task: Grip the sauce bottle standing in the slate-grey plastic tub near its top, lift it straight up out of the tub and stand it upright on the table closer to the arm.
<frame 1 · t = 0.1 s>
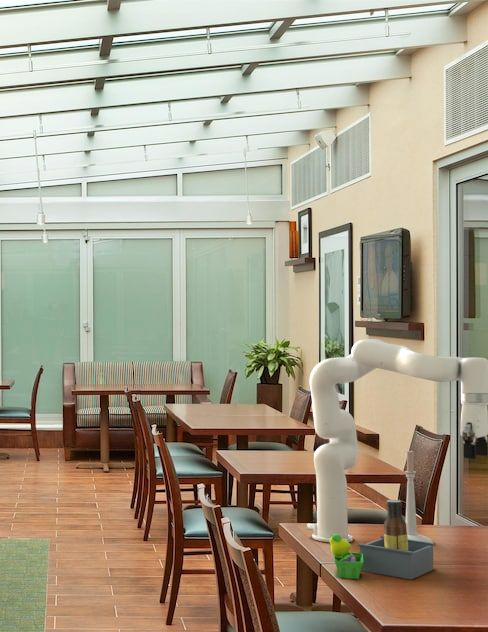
hand: (475, 456, 284), 31 cm above the table, tool pointing down, fingers open, 9 cm apart
fruit basket: (346, 575, 270), on the table
candlestick: (411, 542, 311), on the table
tub: (396, 570, 275), on the table
sauce bottle: (396, 570, 275), resting in tub
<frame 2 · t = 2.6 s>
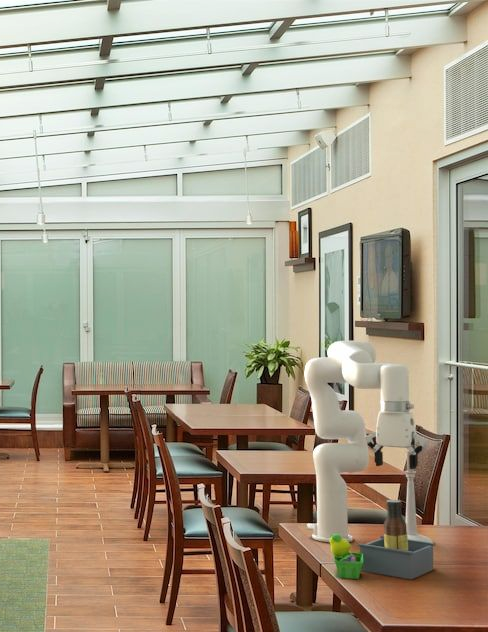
hand: (395, 467, 275), 30 cm above the table, tool pointing down, fingers open, 9 cm apart
nothing on the table moved.
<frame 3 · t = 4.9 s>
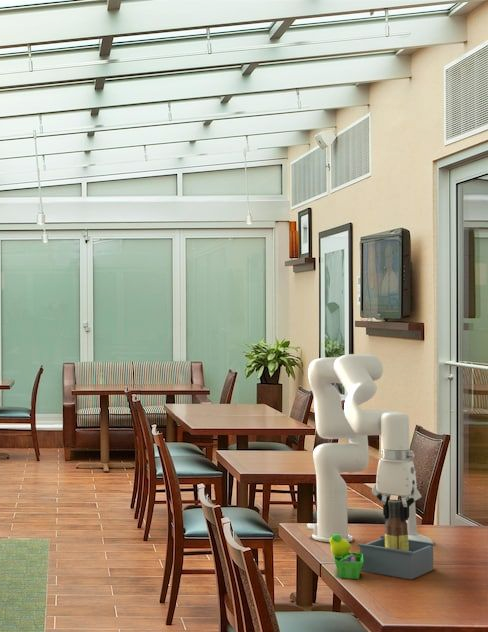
hand: (396, 518, 275), 15 cm above the table, tool pointing down, fingers closed on sauce bottle, 4 cm apart
sauce bottle: (396, 570, 275), resting in tub, touching gripper
everything else where it was.
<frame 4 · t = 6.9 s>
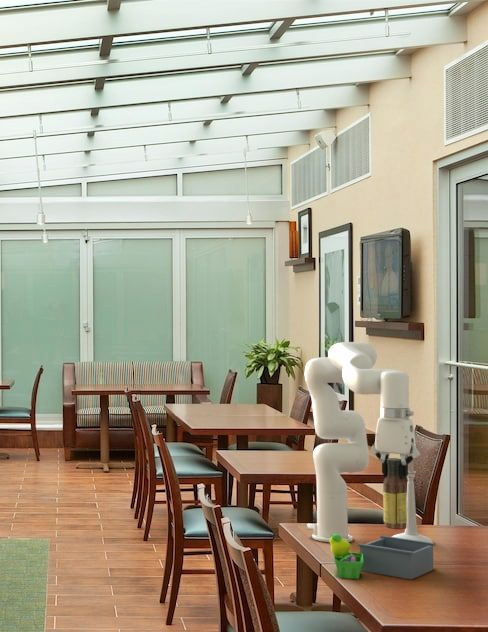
hand: (394, 476, 276), 27 cm above the table, tool pointing down, fingers closed on sauce bottle, 4 cm apart
sauce bottle: (394, 528, 276), point 12 cm above the table, touching gripper
everything else where it was.
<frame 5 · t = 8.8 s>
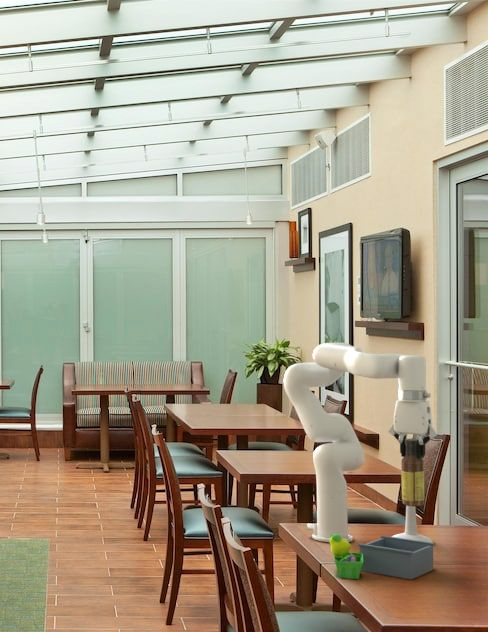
hand: (412, 456, 288), 31 cm above the table, tool pointing down, fingers closed on sauce bottle, 4 cm apart
sauce bottle: (412, 505, 288), point 16 cm above the table, touching gripper
everything else where it was.
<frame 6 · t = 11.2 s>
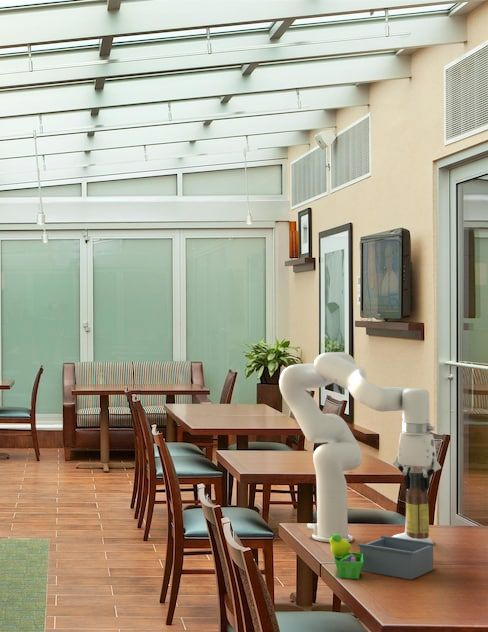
hand: (416, 488, 291), 21 cm above the table, tool pointing down, fingers closed on sauce bottle, 4 cm apart
sauce bottle: (417, 537, 290), point 6 cm above the table, touching gripper
everything else where it was.
when the fingers open (15 cm above the table, at t = 13.0 s): sauce bottle stays where it is, on the table.
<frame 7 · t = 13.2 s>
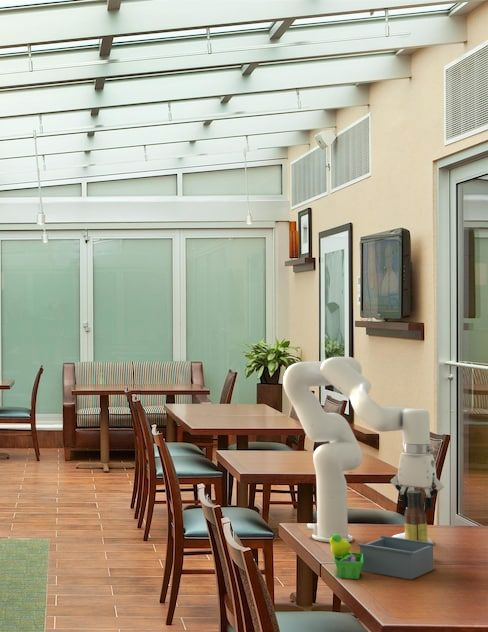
hand: (417, 508, 291), 15 cm above the table, tool pointing down, fingers open, 6 cm apart
sauce bottle: (416, 557, 291), on the table
everything else where it was.
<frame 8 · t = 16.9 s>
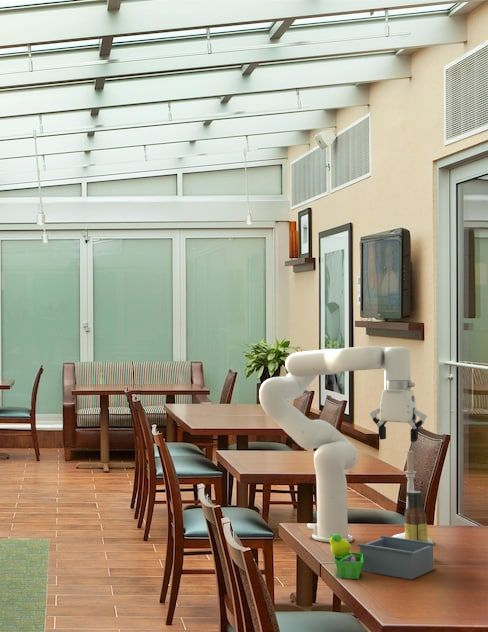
hand: (398, 440, 301), 34 cm above the table, tool pointing down, fingers open, 9 cm apart
nothing on the table moved.
at the end: sauce bottle inside the target area (0.3 cm from its centre), on the table; sauce bottle tilted 0°; the gripper is holding nothing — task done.
